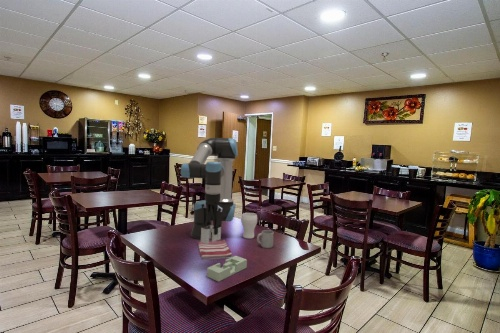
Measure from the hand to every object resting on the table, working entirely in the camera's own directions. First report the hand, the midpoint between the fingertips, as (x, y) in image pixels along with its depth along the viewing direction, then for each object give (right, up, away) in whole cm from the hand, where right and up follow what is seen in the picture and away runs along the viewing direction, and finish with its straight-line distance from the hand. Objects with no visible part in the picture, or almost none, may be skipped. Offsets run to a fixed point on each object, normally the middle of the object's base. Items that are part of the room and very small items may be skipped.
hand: (211, 239), depth 140 cm
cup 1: (+18, -11, +48) cm, 52 cm away
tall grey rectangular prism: (0, 0, 0) cm, 0 cm away
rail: (+9, -14, -5) cm, 17 cm away
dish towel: (-1, -12, +21) cm, 24 cm away
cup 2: (+28, -12, +31) cm, 44 cm away
